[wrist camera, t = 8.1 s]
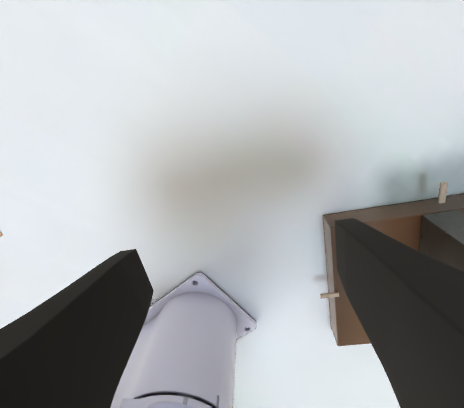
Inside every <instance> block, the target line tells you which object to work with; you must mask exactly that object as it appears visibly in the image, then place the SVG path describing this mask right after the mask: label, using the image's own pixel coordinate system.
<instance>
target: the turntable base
mask: <svg viewBox="0 0 464 408" xmlns="http://www.w3.org/2000/svg"><path fill="white" fill-rule="evenodd" d="M447 185H448V182H442V183H440V188H439V197H438V198H434V199H428V200H421V201H414V202H408V203H401V204H395V205H388V206H381V207H375V208H368V209H361V210H355V211H348V212H342V213H335V214H328V215H323V221H324V235H325V249H326V263H327V277H328V291H329V293H323V294H320V298H321V299H322V298H329V305H330V319H331V329H332V331H333V334H334V337H335V340H336V343H337V345H338V346H346V345H357V344H369V343H371V342H370V340H369V338H368V336H367V334H366V332H365V331H364V329H363V327H362V325H361V323H360V321H359V319H358V317H357V315H356V313H355V311H354V309H353V307H352V305H351V303H350V301H349V299H348V297H347V295H346V293H345V290H344V287H343V285H342V282H341V279H340V277H339V274H338V271H337V262H336V241H335V220H342V219H349V218H355V219H357V220H359V221H361V222H363V223H365V224H367V225H369V226H371V227H373V228H374V229H376V230H378V231H380V232H382V233H384V234H386V235H388V236H389V237H391V238H393V239H395V240H397V241H399V242H401V243H403V244H405V245H407V246H409V247H411V248H413V249H415V250H417V251H419V246H420V235H421V225H422V215H427V214H434V213H441V212H448V211H455V210H459V211H461V212H462V213H464V194H461V195H454V196H447V197H446V193H447Z"/></svg>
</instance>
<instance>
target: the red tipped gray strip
mask: <svg viewBox="0 0 464 408" xmlns="http://www.w3.org/2000/svg"><path fill="white" fill-rule="evenodd" d="M419 252H421V253H423V254H426V255H428V256H430V257H432V258H434V259H437V260H439V261H441V262H443V263H445V264H448V265H450V266H452V267H455V268H457V269H460V270H462V271H464V213H462V212H461V211H459V210H455V211H448V212H441V213H434V214H427V215H422V225H421V235H420V246H419Z"/></svg>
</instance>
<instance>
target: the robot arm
mask: <svg viewBox="0 0 464 408" xmlns="http://www.w3.org/2000/svg"><path fill="white" fill-rule="evenodd" d="M335 241H336V262H337V271H338V274H339V277H340V279H341V282H342V285H343V287H344V290H345V293H346V295H347V297H348V299H349V301H350V303H351V305H352V307H353V309H354V311H355V313H356V315H357V317H358V319H359V321H360V323H361V325H362V327H363V329H364V331H365V332H366V334H367V336H368V338H369V340H370V342H371V344H372V346H373V348H374V350H375V352H376V354H377V356H378V357H379V359H380V361H381V363H382V365H383V368H384V370H385V372H386V374H387V376H388V378H389V381H390V383H391V385H392V388H393V390H394V393H395V395H396V398H397V400H398V402H399V405H400V407H401V408H464V271H462V270H460V269H457V268H455V267H452V266H450V265H448V264H445V263H443V262H441V261H439V260H437V259H434V258H432V257H430V256H428V255H426V254H423V253H421V252H419V251H417V250H415V249H413V248H411V247H409V246H407V245H405V244H403V243H401V242H399V241H397V240H395V239H393V238H391V237H389V236H388V235H386V234H384V233H382V232H380V231H378V230H376V229H374V228H373V227H371V226H369V225H367V224H365V223H363V222H361V221H359V220H357V219H355V218H349V219H342V220H335ZM194 281H197V282H194ZM152 295H153V288H152V286H151V283H150V281H149V279H148V276H147V274H146V272H145V269H144V267H143V265H142V262H141V260H140V257H139V255H138V253H137V250H136V249H133V250H126V251H120V252H119V253H117V254H115V255H113V256H112V257H110V258H108V259H107V260H105V261H104V262H102V263H101V264H99V265H98V266H96V267H95V268H94V269H92V270H91V271H89V272H88V273H86V274H85V275H83V276H82V277H81V278H79V279H78V280H76V281H75V282H73V283H72V284H70V285H69V286H68V287H66V288H65V289H63V290H62V291H60V292H59V293H57V294H56V295H54V296H53V297H51V298H50V299H48V300H46V301H45V302H43V303H42V304H40V305H39V306H37V307H36V308H34V309H33V310H31V311H30V312H28V313H26V314H25V315H23V316H22V317H20V318H18V319H17V320H15V321H13V322H12V323H10V324H8V325H7V326H5V327H3V328H1V329H0V408H233V400H234V378H235V356H236V340H237V339H239V338H241V337H242V336H244V335H246V334H248V333H249V332H251V331H253V330H255V329H256V327H257V324H256V322H255V321H254V320H253V319H252V318H251V317H250V316H249V315H248V314H247V313H246V312H244V311H243V310H242V309H241V308H240V307H239V306H238V305H237V304H236V303H235V302H233V301H232V300H231V299H230V298H229V297H228V296H227V295H226V294H225V293H224V292H222V291H221V290H220V289H219V288H218V287H217V286H216V285H215V284H214V283H213V282H211V281H210V280H209V279H208V278H207V277H206V276H205V275H204V274H202V273H197V274H195V275H194V276H192V277H191V278H189V279H188V280H187V281H185V282H184V283H182V284H181V285H180V286H178V287H177V288H176V289H174V290H173V291H171V292H170V293H169V294H167V295H166V296H164V297H163V298H162V299H160V300H159V301H157V302H156V303H155V304H153V305H152V306H150V303H151V299H152ZM246 327H248V328H246Z"/></svg>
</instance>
